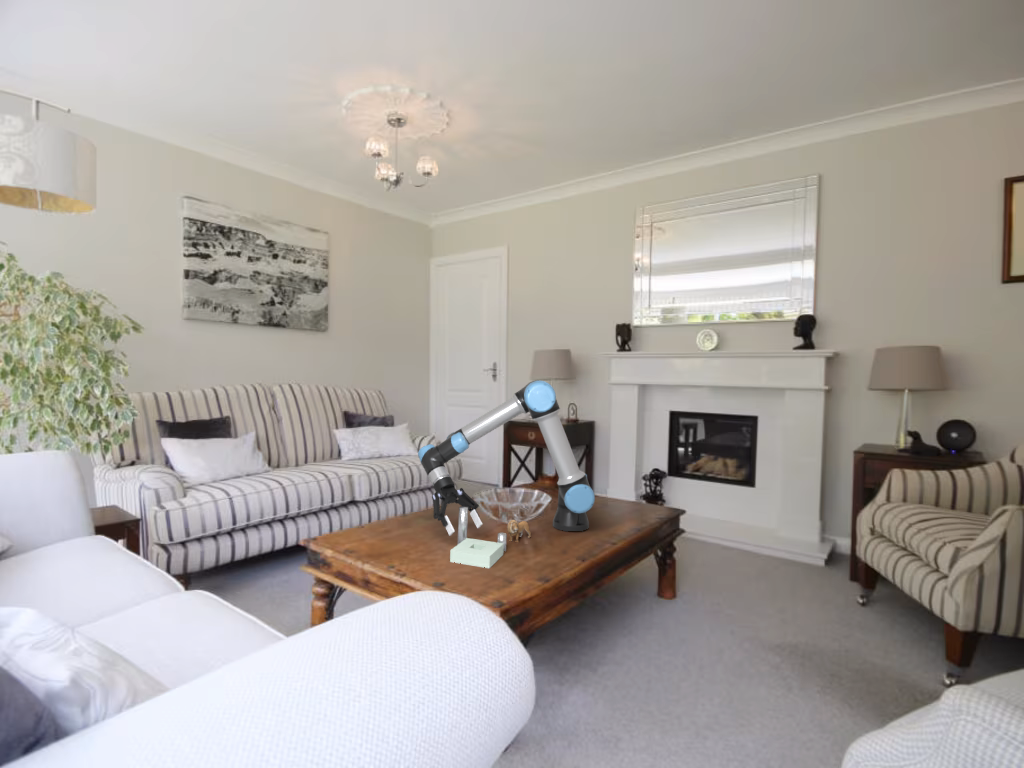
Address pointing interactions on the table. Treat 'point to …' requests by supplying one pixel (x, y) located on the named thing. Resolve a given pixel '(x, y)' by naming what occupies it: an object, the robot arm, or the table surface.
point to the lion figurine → (517, 529)
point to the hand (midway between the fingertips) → (466, 529)
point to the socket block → (476, 552)
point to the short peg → (502, 539)
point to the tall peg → (462, 523)
